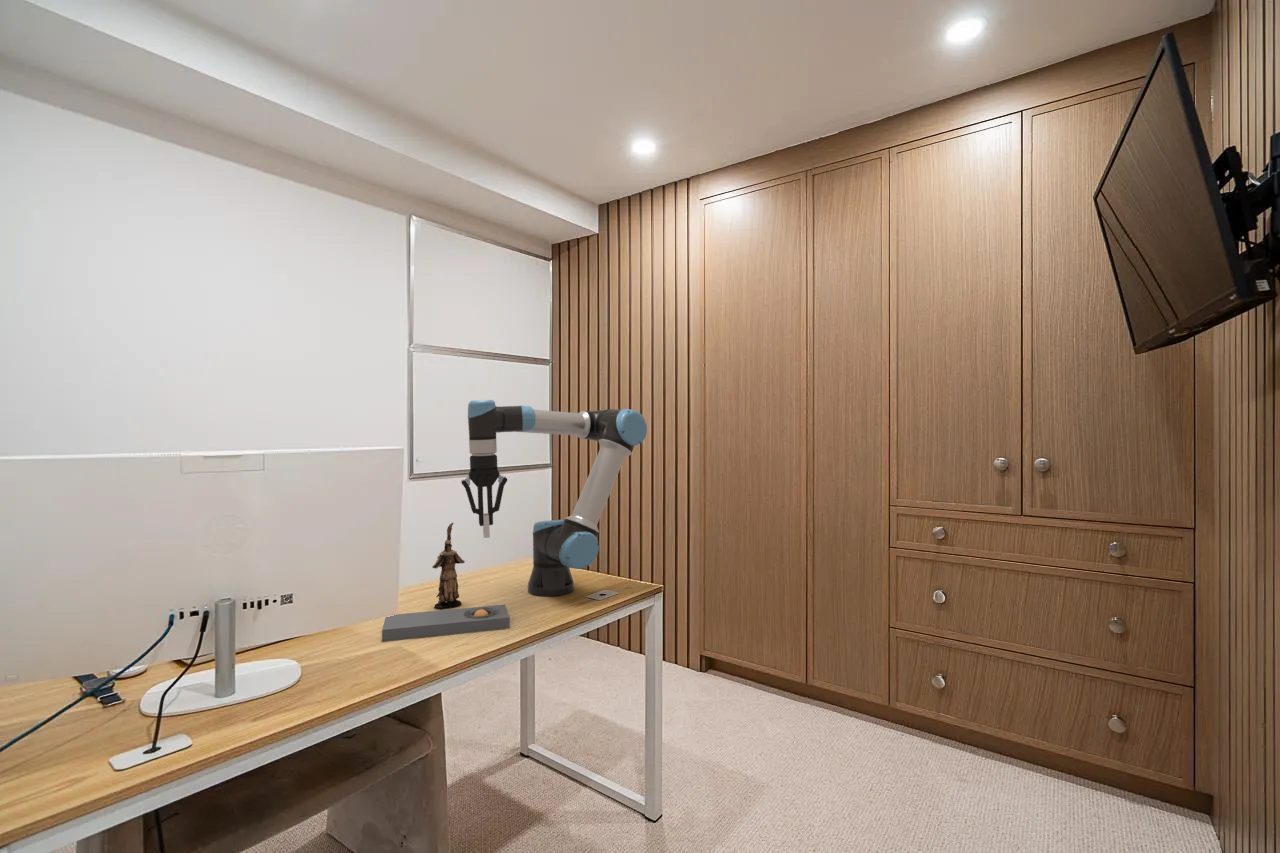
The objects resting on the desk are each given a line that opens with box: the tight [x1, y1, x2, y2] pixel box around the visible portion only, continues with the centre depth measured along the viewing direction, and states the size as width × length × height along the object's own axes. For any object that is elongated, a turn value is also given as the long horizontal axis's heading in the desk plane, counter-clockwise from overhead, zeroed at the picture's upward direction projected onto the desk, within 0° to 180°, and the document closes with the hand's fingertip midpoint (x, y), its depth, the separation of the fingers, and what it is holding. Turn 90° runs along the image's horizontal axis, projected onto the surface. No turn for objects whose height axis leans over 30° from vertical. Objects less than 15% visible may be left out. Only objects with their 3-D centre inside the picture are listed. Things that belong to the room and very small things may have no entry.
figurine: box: [431, 522, 466, 611], centre depth 185 cm, size 6×10×25 cm
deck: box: [381, 604, 511, 643], centre depth 167 cm, size 32×12×3 cm, turn 108°
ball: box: [474, 609, 488, 616], centre depth 170 cm, size 4×4×4 cm
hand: (486, 536), depth 175 cm, fingers closed
